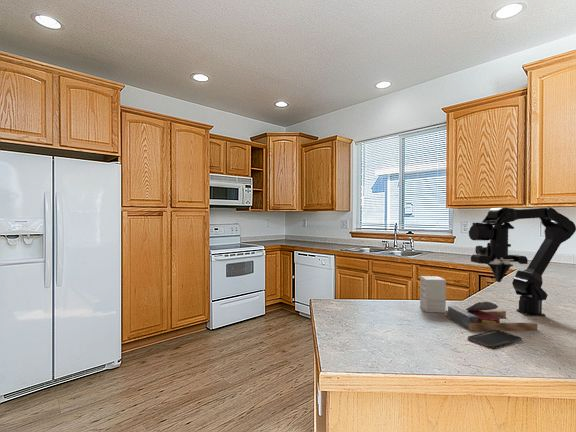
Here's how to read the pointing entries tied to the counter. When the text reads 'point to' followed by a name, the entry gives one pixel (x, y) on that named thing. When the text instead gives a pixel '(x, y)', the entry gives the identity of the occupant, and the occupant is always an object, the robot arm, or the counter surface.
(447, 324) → the counter surface
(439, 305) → the supplement box
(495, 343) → the phone
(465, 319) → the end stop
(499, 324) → the guide channel
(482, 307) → the canned food
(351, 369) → the counter surface
